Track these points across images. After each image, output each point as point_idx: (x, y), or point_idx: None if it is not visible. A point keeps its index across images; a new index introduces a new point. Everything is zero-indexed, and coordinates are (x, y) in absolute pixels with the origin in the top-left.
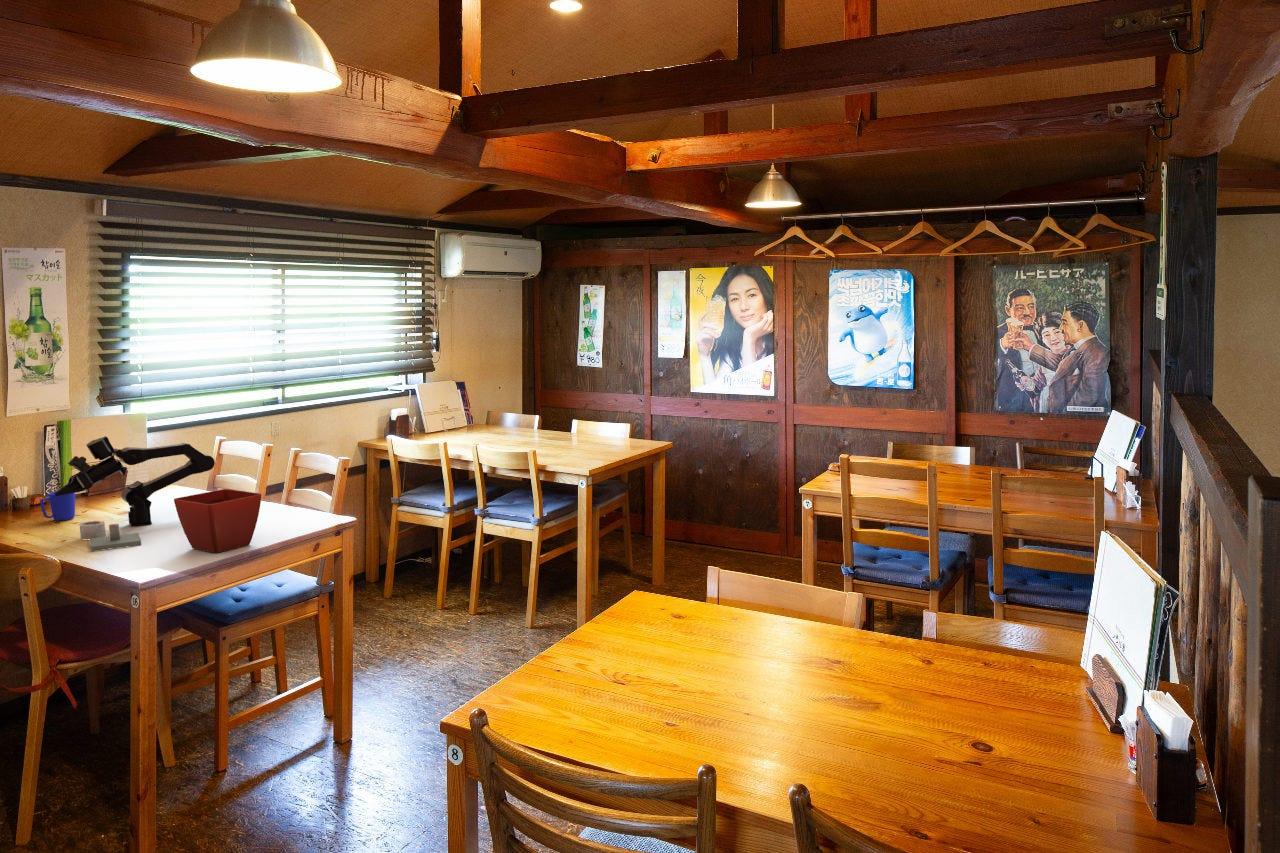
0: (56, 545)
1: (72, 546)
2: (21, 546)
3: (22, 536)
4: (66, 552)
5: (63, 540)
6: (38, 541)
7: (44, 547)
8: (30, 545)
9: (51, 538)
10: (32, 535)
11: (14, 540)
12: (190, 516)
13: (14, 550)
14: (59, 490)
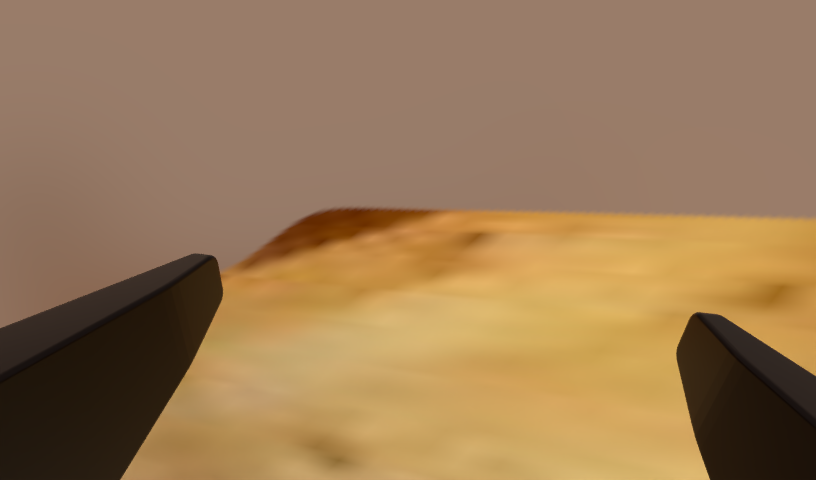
0: (247, 387)
1: (137, 457)
2: (384, 246)
3: (669, 267)
4: None
5: (342, 451)
6: (439, 323)
7: (260, 329)
8: (370, 280)
9: (470, 399)
10: (666, 316)
11: (569, 228)
12: None
13: (325, 219)
14: (746, 376)
